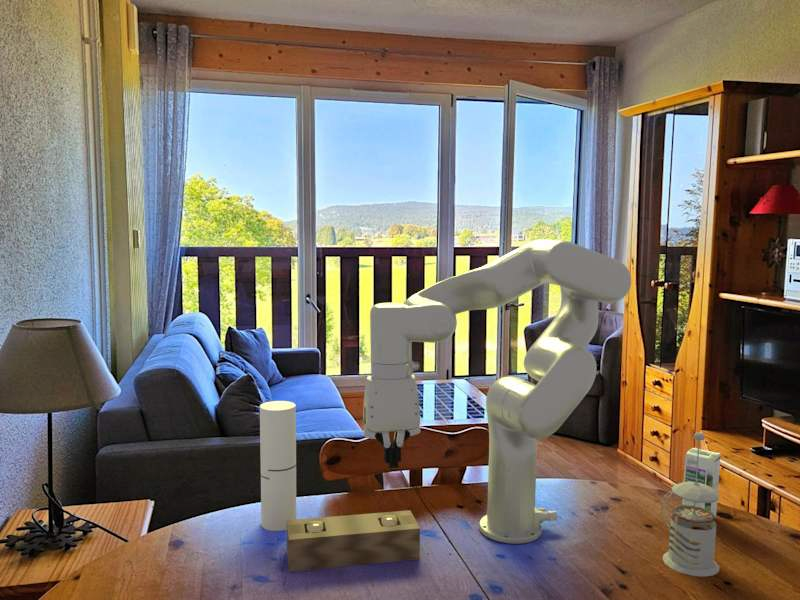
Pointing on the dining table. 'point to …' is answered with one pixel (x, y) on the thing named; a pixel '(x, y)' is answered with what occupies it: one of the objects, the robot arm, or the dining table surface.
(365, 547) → the tan peg holder block
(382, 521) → the inner brass pin
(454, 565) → the dining table surface
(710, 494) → the french press
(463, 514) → the dining table surface
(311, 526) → the outer brass pin
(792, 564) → the dining table surface
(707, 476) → the syrup box
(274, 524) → the cylindrical container
